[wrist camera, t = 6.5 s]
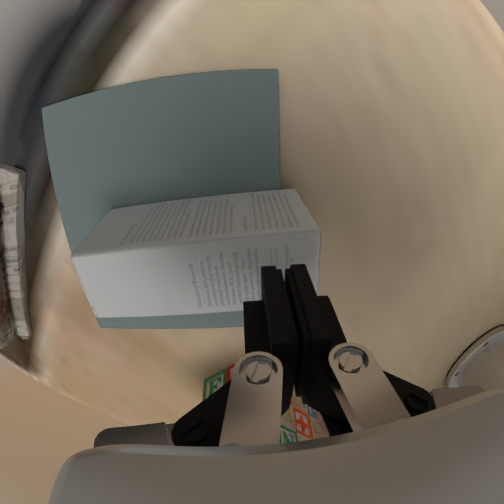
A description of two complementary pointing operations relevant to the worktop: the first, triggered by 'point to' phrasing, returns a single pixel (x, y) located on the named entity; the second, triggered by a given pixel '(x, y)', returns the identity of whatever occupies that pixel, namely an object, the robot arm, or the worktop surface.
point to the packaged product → (13, 256)
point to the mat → (163, 154)
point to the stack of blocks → (292, 421)
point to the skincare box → (194, 253)
